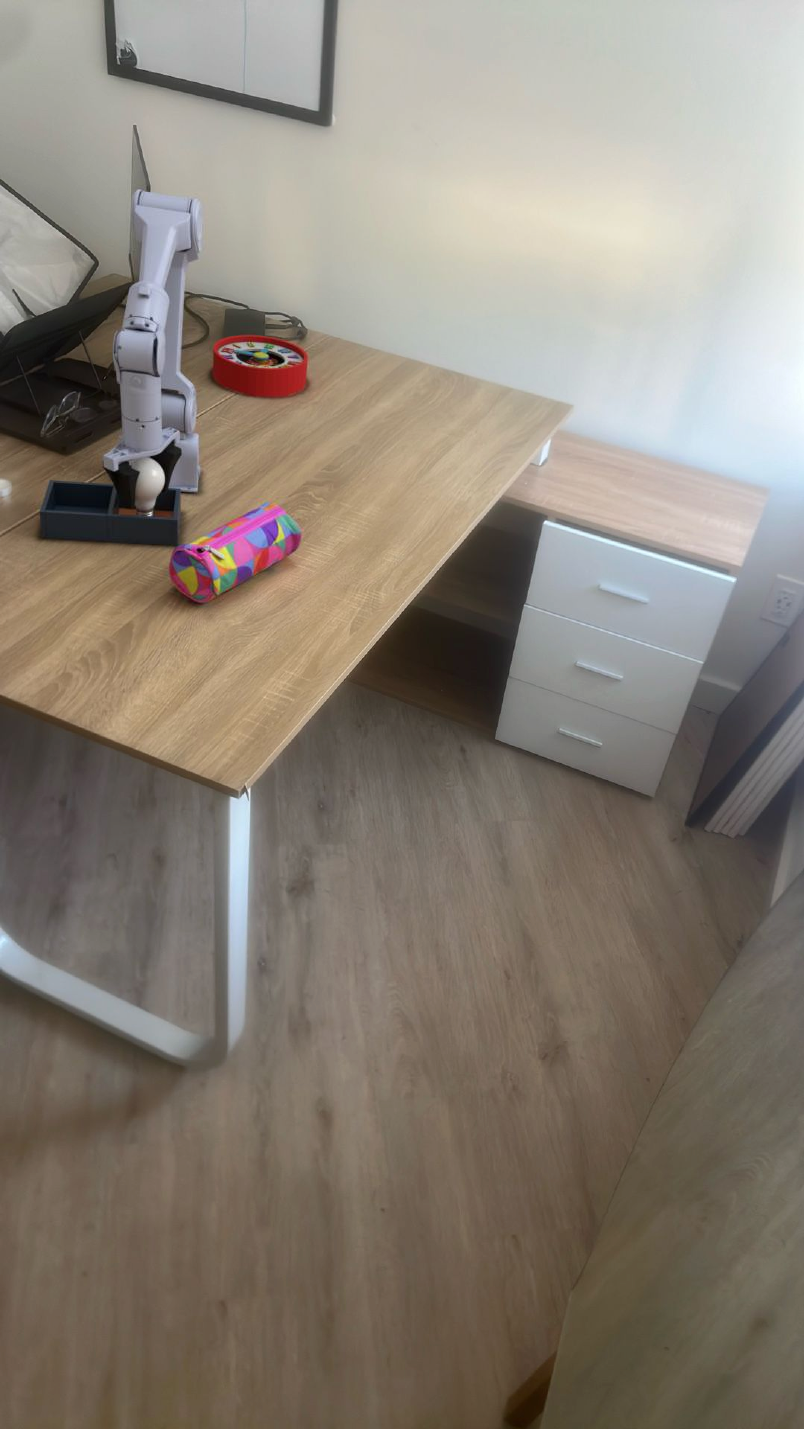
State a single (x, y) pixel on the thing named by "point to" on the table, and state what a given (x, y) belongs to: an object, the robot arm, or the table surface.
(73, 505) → the organiser
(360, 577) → the table surface
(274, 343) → the toy clock
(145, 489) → the lightbulb
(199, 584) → the pencil case
